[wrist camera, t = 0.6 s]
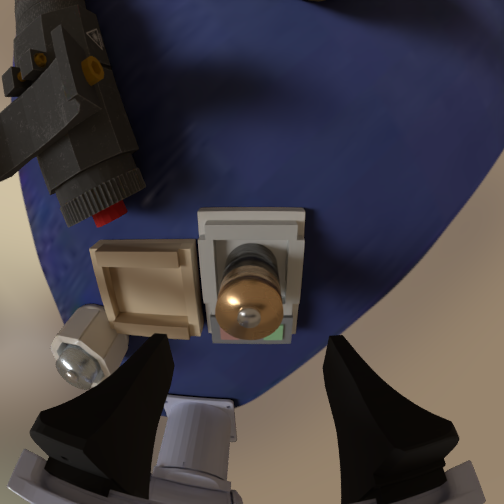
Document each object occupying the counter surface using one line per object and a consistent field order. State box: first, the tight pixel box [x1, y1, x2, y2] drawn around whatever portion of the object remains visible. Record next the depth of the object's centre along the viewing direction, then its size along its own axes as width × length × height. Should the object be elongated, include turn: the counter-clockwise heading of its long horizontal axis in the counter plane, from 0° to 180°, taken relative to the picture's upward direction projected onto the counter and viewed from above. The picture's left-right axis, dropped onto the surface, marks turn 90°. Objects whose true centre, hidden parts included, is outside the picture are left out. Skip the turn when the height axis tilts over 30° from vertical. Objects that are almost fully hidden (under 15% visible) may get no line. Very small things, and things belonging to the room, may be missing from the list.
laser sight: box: [0, 0, 146, 227], centre depth 11 cm, size 10×22×10 cm, turn 19°
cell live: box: [215, 243, 284, 340], centre depth 17 cm, size 4×4×6 cm
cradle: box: [198, 207, 305, 344], centre depth 20 cm, size 10×7×2 cm
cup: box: [51, 304, 129, 387], centre depth 22 cm, size 6×6×5 cm
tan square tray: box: [89, 239, 204, 340], centre depth 21 cm, size 7×8×2 cm
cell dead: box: [56, 344, 101, 390], centre depth 21 cm, size 4×4×6 cm
